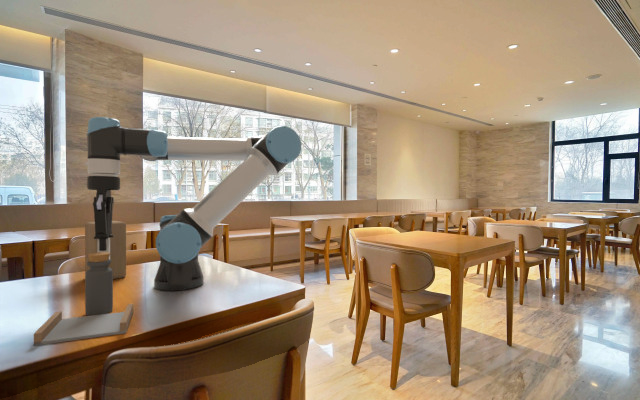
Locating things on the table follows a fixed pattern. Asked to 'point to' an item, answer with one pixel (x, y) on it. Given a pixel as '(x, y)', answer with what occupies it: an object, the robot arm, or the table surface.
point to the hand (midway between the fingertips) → (103, 261)
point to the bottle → (98, 285)
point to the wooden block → (115, 247)
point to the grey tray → (82, 327)
